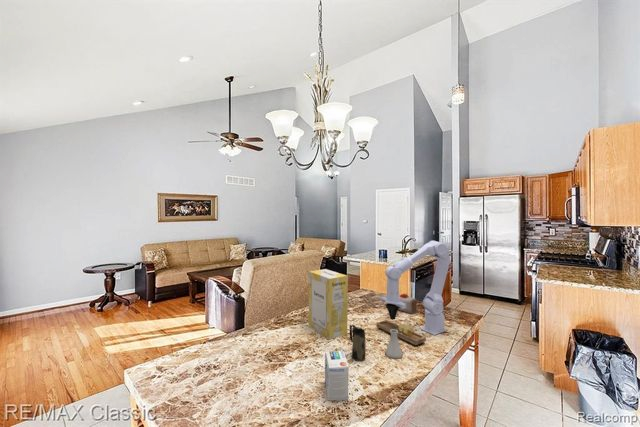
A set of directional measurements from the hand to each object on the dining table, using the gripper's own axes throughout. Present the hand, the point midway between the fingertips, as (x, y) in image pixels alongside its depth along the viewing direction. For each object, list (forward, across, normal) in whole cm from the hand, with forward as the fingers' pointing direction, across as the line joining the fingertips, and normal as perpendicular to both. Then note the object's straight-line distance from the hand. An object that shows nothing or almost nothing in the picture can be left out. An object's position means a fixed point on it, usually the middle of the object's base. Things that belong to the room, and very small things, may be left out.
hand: (392, 319), depth 142 cm
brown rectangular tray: (+6, +4, 0) cm, 8 cm away
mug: (+6, +8, -30) cm, 32 cm away
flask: (+7, +15, -16) cm, 23 cm away
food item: (+7, -17, +29) cm, 34 cm away
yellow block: (+4, +8, 0) cm, 9 cm away
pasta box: (+6, -20, -25) cm, 32 cm away
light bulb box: (+6, +21, -50) cm, 55 cm away
